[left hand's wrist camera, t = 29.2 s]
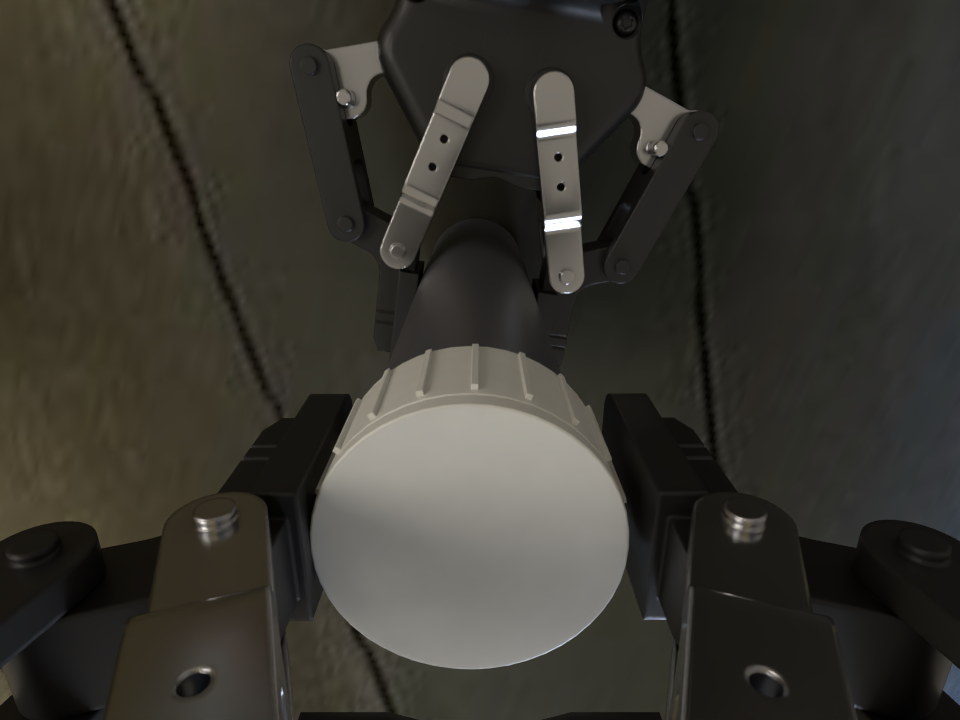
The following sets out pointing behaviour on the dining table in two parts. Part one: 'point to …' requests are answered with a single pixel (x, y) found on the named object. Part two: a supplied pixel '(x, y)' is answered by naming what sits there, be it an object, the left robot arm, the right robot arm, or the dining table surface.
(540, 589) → the lid
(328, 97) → the right robot arm
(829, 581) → the left robot arm
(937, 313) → the dining table surface
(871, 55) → the dining table surface
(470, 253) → the bottle
